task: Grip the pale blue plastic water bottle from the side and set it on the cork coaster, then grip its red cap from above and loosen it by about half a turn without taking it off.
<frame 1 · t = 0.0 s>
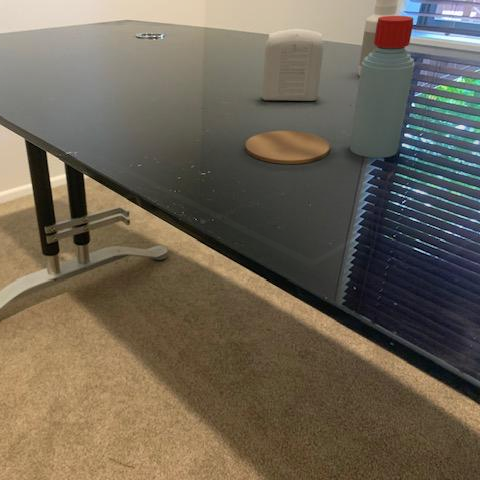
bottle: (372, 149, 72), on the table
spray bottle: (374, 76, 107), on the table
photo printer: (289, 100, 96), on the table
coaster: (286, 148, 74), on the table
bottle cap: (395, 20, 63), point 17 cm above the table, screwed on, not yet turned
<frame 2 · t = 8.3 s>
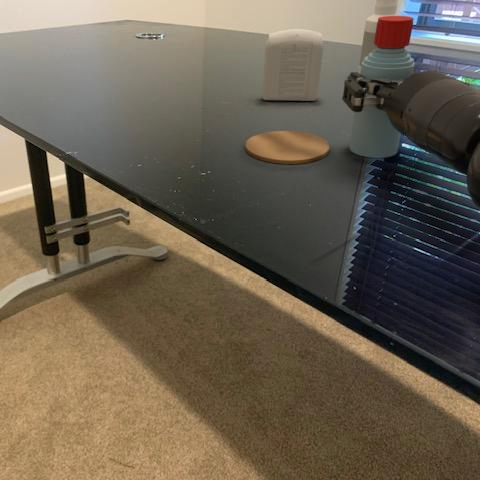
hand: (377, 78, 69), 10 cm above the table, tool horizontal, fingers closed on bottle, 6 cm apart
bottle: (372, 149, 72), on the table, touching gripper
everything else where it was.
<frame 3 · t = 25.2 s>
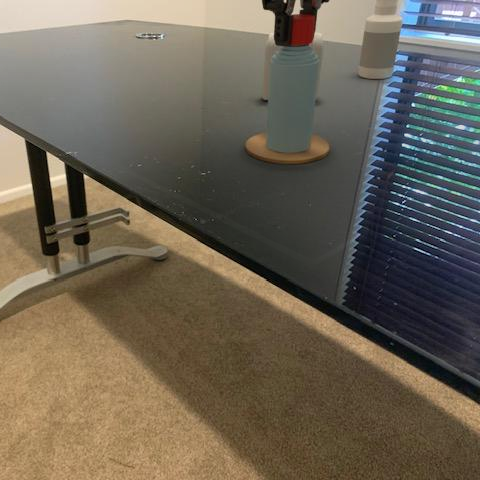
hand: (294, 42, 67), 15 cm above the table, tool pointing down, fingers closed on bottle cap, 4 cm apart
bottle: (287, 145, 74), point 1 cm above the table, touching coaster
bottle cap: (298, 19, 65), point 18 cm above the table, screwed on, not yet turned, touching gripper
everything else where it was.
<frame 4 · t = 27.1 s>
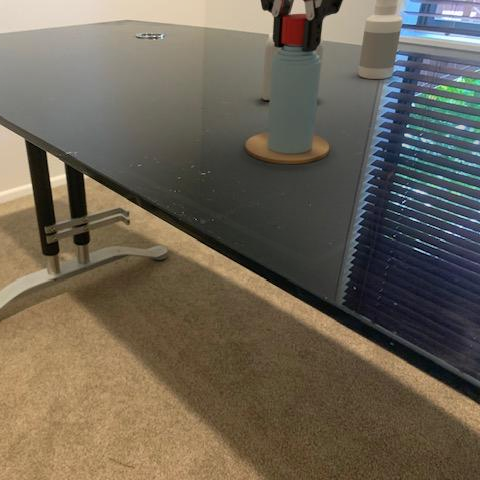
hand: (295, 48, 66), 14 cm above the table, tool pointing down, fingers closed on bottle cap, 4 cm apart
bottle: (289, 145, 73), point 1 cm above the table, touching coaster, gripper
bottle cap: (299, 18, 65), point 18 cm above the table, turned 82° so far, risen 0.1 cm, still on its thread, touching gripper
everything else where it was.
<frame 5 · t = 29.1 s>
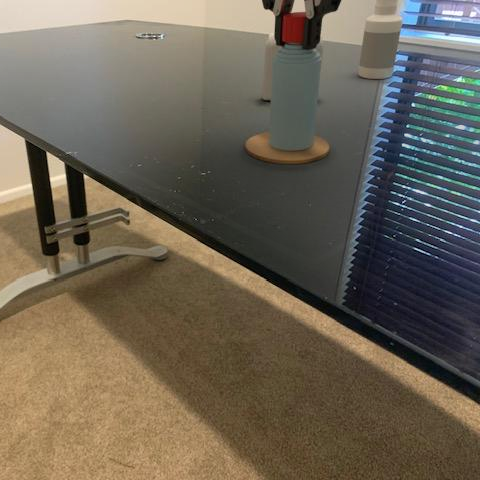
hand: (296, 46, 67), 14 cm above the table, tool pointing down, fingers closed on bottle cap, 3 cm apart
bottle: (291, 142, 74), point 1 cm above the table
bottle cap: (299, 16, 65), point 18 cm above the table, turned 82° so far, risen 0.1 cm, still on its thread, touching gripper
everything else where it was.
when the fingers open (14 cm above the table, at t = 30.6 s): bottle cap stays where it is, point 18 cm above the table.
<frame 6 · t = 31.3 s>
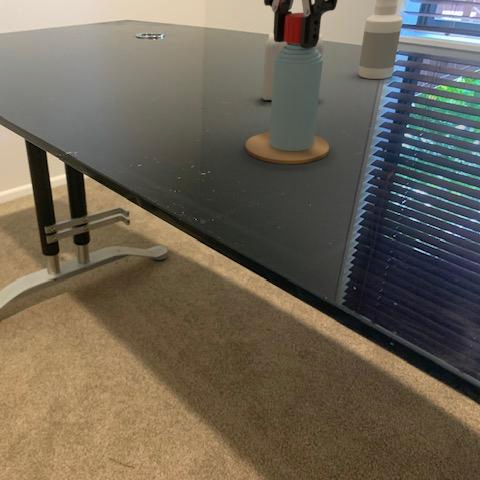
hand: (294, 43, 67), 15 cm above the table, tool pointing down
bottle: (291, 143, 74), point 1 cm above the table, touching coaster
bottle cap: (301, 17, 65), point 18 cm above the table, turned 82° so far, risen 0.1 cm, still on its thread, touching gripper
everything else where it was.
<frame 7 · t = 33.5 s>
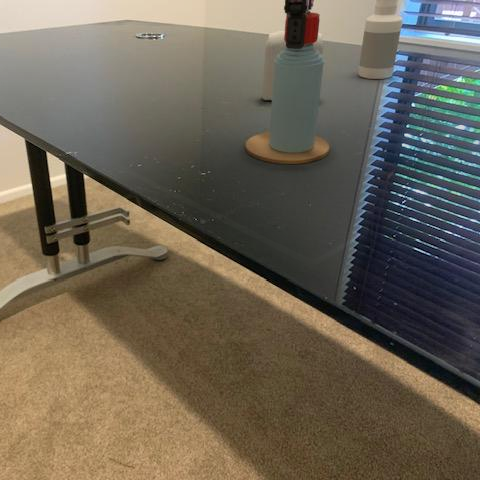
hand: (296, 43, 66), 15 cm above the table, tool pointing down, fingers closed on bottle cap, 4 cm apart
bottle: (291, 144, 74), point 1 cm above the table
bottle cap: (302, 17, 64), point 18 cm above the table, turned 111° so far, risen 0.1 cm, still on its thread, touching gripper
everything else where it was.
when the fingers open (15 cm above the table, at t = 34.6 s): bottle cap stays where it is, point 18 cm above the table.
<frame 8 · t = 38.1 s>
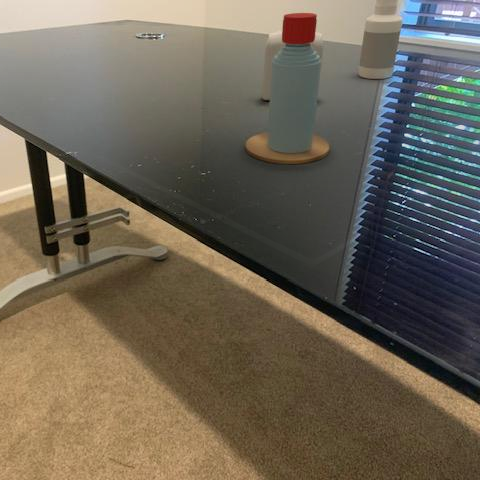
bottle: (289, 145, 74), point 1 cm above the table, touching coaster
bottle cap: (299, 17, 65), point 18 cm above the table, turned 150° so far, risen 0.2 cm, still on its thread
everything else where it was.
at the end: bottle inside the target area on the coaster (0.5 cm from its centre), point 0.6 cm above the coaster's base; bottle cap turned 0.42 turns (still on its thread); bottle cap is still on its thread (0.42 turns) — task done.
